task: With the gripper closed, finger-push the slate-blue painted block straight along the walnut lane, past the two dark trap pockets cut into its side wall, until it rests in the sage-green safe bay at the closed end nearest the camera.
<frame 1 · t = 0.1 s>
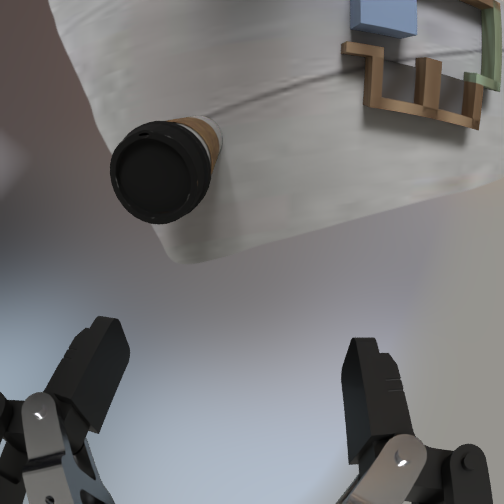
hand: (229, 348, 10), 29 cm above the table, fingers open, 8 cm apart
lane: (423, 22, 24), on the table
coffee cup: (198, 139, 35), on the table
block: (375, 10, 25), on the table
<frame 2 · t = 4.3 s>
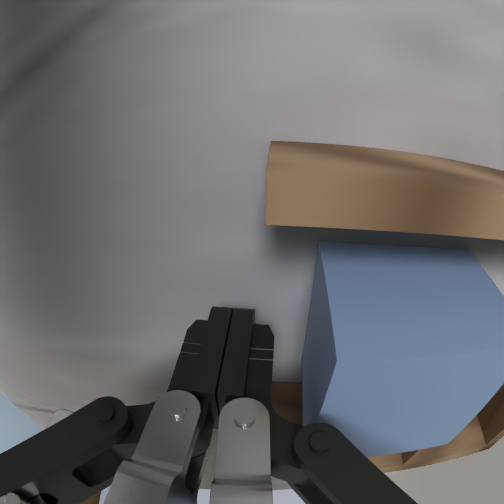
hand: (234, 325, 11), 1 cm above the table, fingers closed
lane: (484, 307, 11), on the table
coffee cup: (84, 425, 22), on the table
block: (382, 309, 12), on the table, touching gripper
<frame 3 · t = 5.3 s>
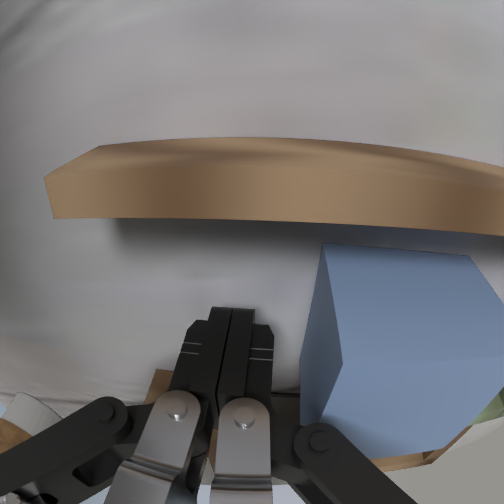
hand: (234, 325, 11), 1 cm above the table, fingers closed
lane: (379, 307, 12), on the table
coffee cup: (41, 409, 23), on the table
block: (382, 313, 12), on the table, touching gripper
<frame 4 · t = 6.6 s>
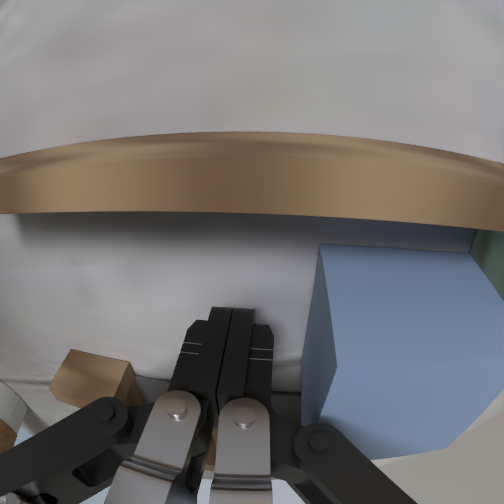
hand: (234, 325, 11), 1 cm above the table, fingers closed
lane: (237, 300, 12), on the table
coffee cup: (7, 391, 23), on the table
block: (383, 313, 12), on the table, touching gripper, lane
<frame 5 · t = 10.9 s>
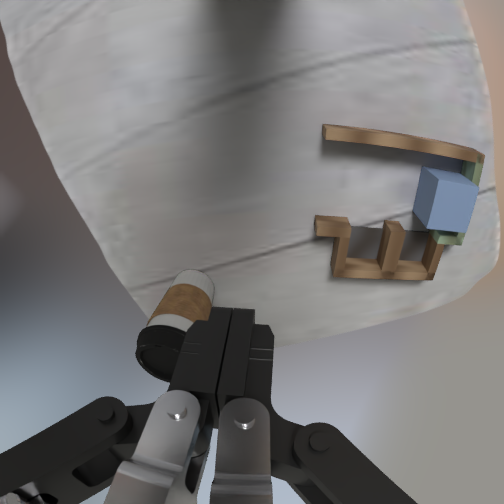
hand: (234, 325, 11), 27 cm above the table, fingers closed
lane: (398, 183, 34), on the table
coffee cup: (194, 285, 45), on the table
block: (436, 191, 34), on the table
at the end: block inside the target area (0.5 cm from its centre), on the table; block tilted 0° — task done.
